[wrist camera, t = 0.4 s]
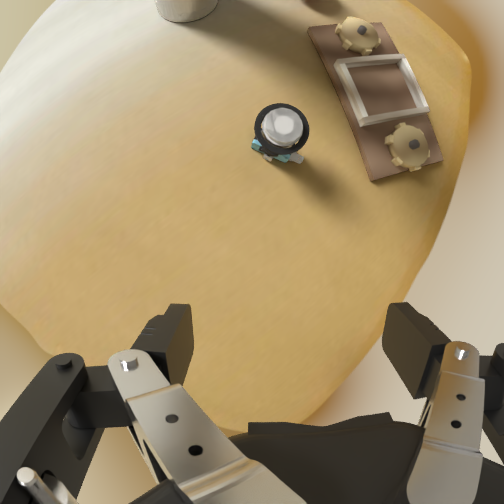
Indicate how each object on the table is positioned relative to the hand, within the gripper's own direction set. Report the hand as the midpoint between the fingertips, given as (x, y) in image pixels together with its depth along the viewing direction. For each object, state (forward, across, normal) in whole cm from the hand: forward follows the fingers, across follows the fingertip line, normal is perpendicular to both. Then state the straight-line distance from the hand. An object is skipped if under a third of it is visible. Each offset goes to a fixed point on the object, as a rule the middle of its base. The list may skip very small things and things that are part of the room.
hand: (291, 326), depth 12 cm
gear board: (+31, -16, -18) cm, 40 cm away
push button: (+29, -1, -8) cm, 30 cm away
